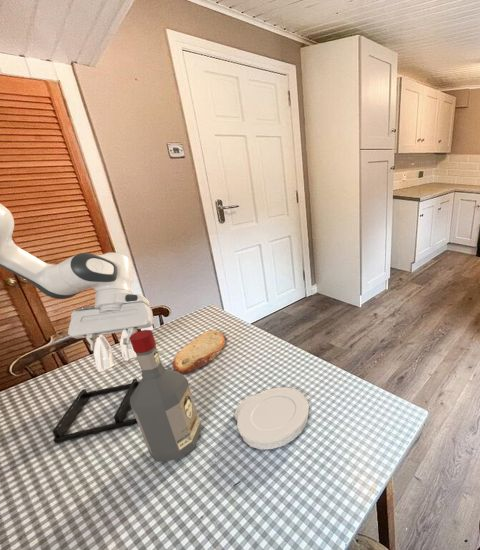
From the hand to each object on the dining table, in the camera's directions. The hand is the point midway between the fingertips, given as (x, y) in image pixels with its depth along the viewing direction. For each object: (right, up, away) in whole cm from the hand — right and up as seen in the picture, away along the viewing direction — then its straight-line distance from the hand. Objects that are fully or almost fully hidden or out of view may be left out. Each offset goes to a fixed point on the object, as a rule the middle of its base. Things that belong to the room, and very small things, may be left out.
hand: (111, 347), depth 89 cm
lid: (+50, -16, -11) cm, 54 cm away
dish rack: (+8, -14, -8) cm, 18 cm away
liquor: (+31, -19, -18) cm, 40 cm away
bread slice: (+18, -5, +15) cm, 24 cm away
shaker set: (0, -6, +3) cm, 7 cm away
